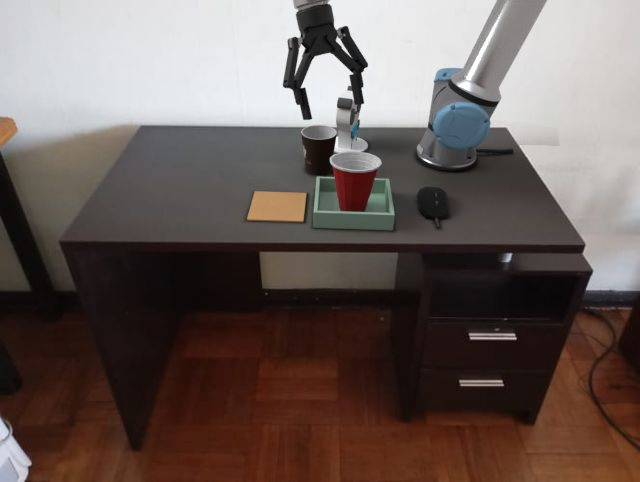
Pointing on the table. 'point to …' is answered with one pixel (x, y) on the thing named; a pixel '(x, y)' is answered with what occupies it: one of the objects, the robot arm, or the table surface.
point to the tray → (373, 217)
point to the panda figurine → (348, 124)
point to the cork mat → (277, 207)
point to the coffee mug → (318, 148)
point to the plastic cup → (354, 178)
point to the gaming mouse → (433, 203)
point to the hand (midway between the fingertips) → (334, 111)
